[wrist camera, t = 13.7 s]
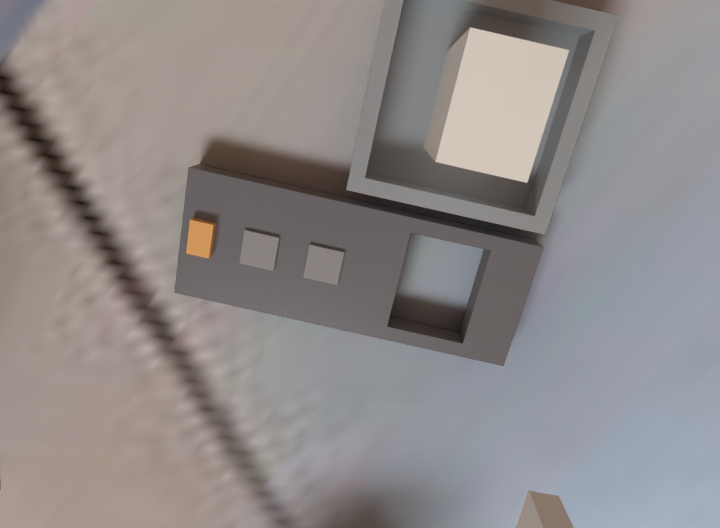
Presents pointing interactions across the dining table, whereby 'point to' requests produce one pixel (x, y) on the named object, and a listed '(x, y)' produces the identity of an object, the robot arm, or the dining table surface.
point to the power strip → (339, 262)
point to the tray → (418, 91)
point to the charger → (493, 103)
